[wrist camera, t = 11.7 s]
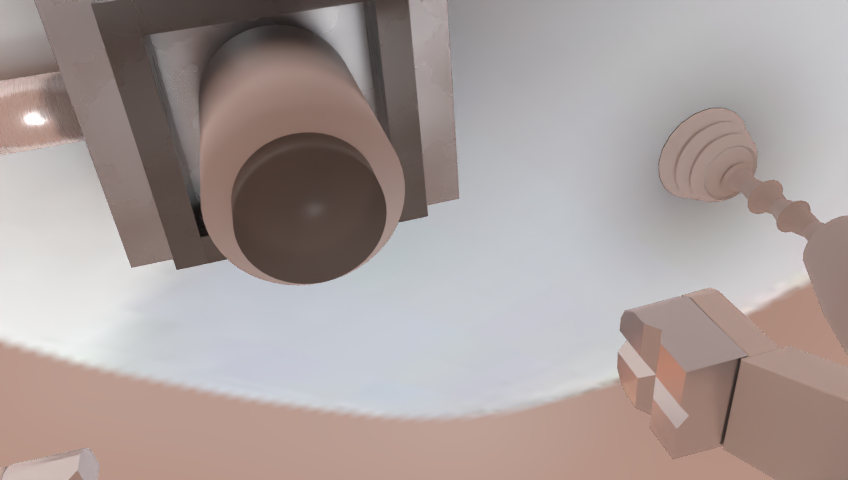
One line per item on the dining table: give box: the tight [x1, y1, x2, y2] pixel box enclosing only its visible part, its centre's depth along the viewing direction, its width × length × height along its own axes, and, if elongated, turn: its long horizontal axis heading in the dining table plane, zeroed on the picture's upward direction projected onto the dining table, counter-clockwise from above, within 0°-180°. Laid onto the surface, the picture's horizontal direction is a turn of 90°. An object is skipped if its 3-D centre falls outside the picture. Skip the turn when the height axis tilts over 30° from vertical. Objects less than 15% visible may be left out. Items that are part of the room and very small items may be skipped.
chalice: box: [659, 108, 848, 354], centre depth 30 cm, size 7×7×18 cm
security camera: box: [199, 25, 405, 285], centre depth 20 cm, size 5×5×8 cm
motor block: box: [0, 0, 459, 270], centre depth 25 cm, size 16×10×8 cm, turn 95°
